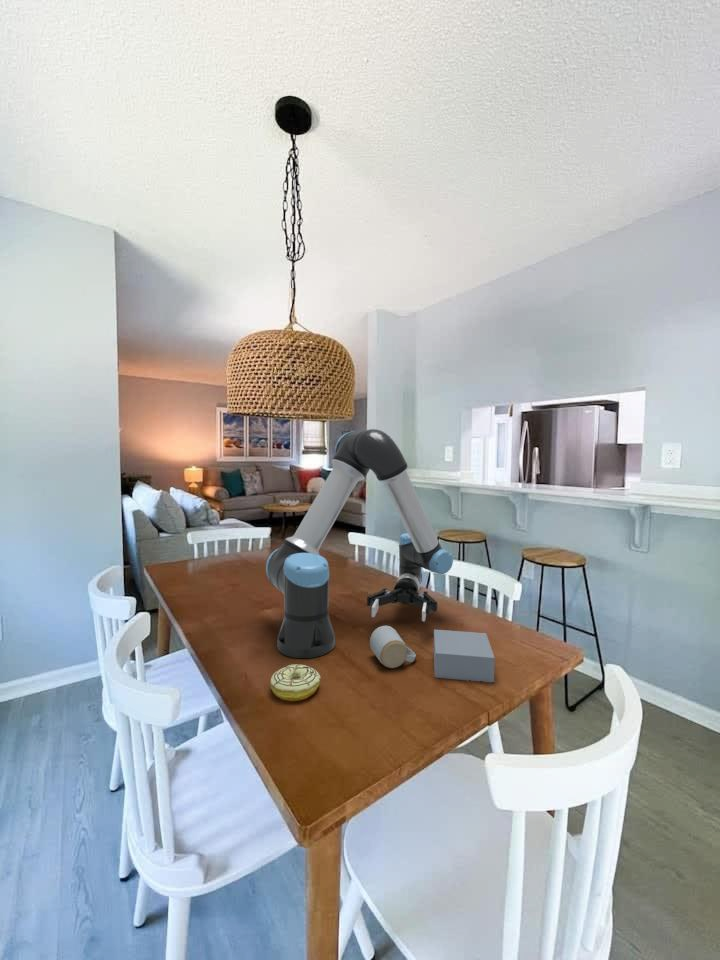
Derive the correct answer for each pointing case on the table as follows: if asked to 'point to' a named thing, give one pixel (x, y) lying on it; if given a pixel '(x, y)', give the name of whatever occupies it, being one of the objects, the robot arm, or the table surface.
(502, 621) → the table surface
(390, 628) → the ceramic mug
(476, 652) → the riser block
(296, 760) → the table surface
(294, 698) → the decorated donut
